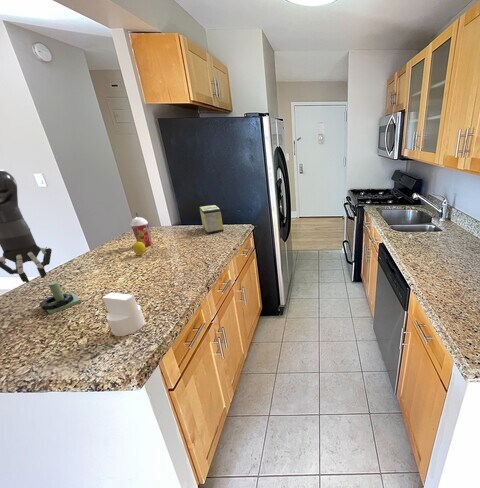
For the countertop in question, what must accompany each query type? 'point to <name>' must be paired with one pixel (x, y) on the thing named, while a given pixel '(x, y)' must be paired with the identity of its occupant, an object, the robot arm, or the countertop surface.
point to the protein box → (211, 219)
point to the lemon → (139, 248)
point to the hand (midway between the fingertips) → (35, 279)
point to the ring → (47, 306)
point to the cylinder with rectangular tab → (123, 314)
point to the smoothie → (141, 230)
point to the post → (60, 297)
